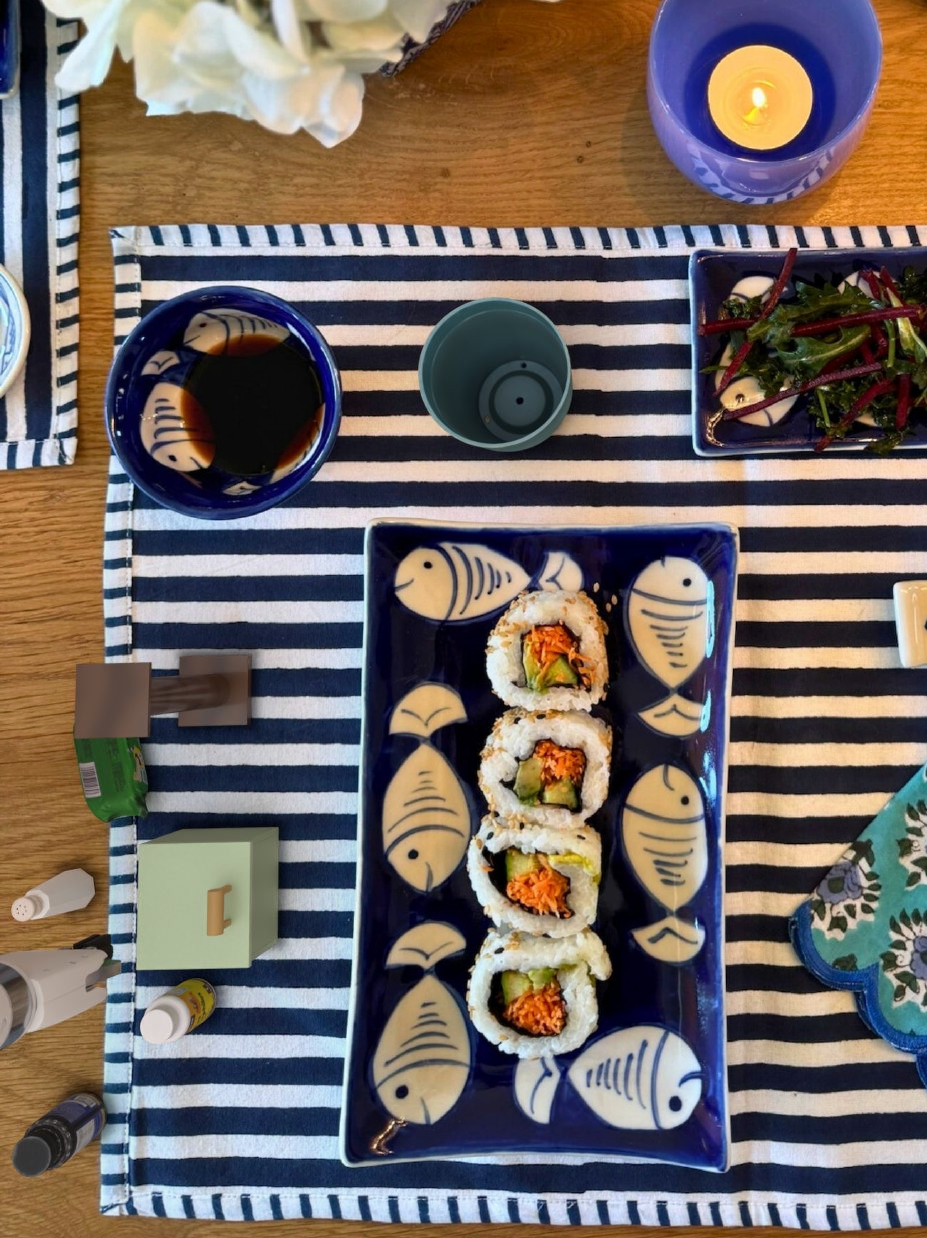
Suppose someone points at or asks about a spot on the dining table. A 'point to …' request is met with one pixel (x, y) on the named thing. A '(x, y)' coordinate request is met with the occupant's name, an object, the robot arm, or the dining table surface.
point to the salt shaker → (55, 896)
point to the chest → (261, 875)
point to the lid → (194, 905)
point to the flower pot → (496, 374)
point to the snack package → (112, 776)
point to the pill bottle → (59, 1134)
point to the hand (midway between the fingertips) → (103, 949)
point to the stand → (161, 695)
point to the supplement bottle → (178, 1011)
